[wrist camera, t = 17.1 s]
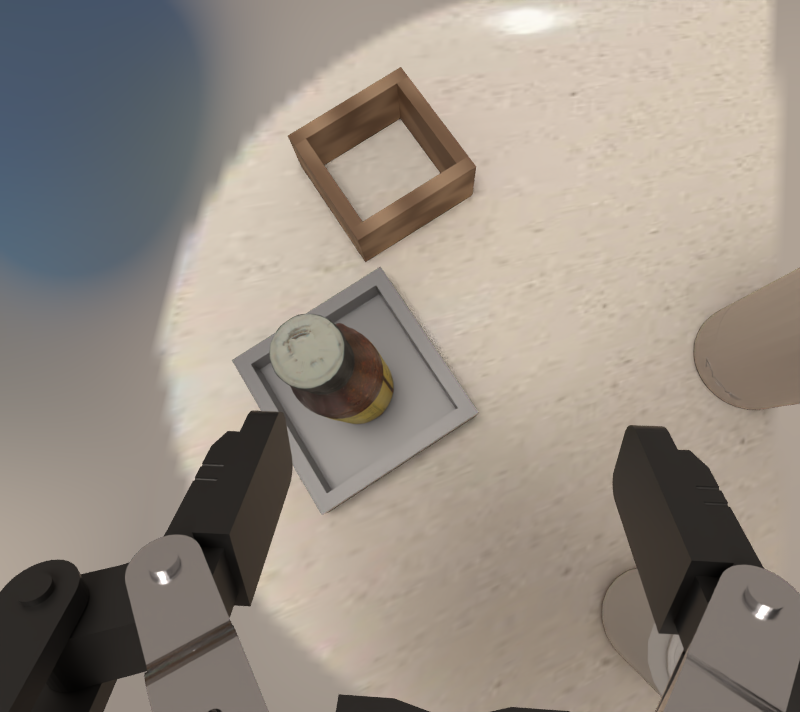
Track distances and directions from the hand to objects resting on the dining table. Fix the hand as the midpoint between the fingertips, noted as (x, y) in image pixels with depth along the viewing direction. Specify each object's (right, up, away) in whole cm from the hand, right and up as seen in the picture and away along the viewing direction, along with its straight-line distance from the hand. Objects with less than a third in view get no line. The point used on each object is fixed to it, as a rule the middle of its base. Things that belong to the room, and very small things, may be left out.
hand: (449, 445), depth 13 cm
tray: (-5, -1, +36) cm, 36 cm away
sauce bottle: (-5, -1, +35) cm, 35 cm away
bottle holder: (-3, +19, +39) cm, 44 cm away
